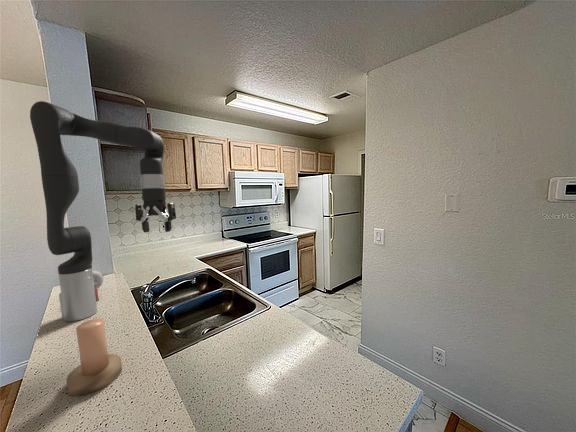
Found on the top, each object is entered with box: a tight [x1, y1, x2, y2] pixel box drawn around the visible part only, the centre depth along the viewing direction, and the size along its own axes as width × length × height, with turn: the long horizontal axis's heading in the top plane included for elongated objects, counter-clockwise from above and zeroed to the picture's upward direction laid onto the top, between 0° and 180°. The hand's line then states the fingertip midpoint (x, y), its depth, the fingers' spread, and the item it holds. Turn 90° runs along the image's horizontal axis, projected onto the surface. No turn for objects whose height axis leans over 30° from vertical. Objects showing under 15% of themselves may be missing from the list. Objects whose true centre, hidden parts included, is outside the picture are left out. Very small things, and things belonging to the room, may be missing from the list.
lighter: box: [93, 278, 100, 303], centre depth 101 cm, size 8×3×10 cm, turn 62°
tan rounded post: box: [75, 318, 109, 376], centre depth 56 cm, size 5×5×11 cm
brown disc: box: [66, 353, 123, 397], centre depth 56 cm, size 10×10×2 cm
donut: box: [92, 270, 104, 290], centre depth 111 cm, size 10×3×10 cm, turn 140°
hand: (157, 231), depth 87 cm, fingers open, 8 cm apart
